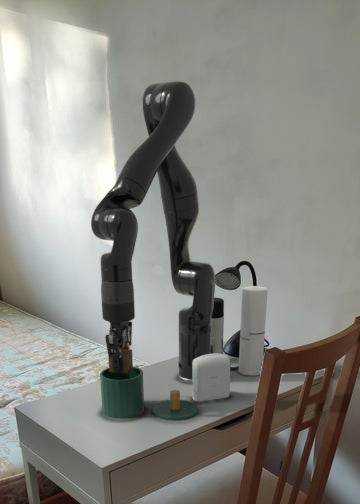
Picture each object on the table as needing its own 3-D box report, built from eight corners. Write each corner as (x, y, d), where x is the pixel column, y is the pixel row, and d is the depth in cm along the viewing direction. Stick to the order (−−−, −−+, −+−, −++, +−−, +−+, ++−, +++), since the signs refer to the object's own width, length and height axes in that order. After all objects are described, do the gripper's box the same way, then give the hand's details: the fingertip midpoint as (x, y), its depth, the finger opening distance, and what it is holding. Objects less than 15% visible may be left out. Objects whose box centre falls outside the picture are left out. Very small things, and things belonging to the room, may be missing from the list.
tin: (126, 400, 141) (124, 362, 136) (152, 412, 134) (151, 372, 130) (94, 411, 134) (91, 372, 130) (119, 424, 127) (117, 383, 123)
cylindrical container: (261, 376, 157) (266, 291, 147) (237, 374, 158) (241, 290, 148) (262, 368, 163) (268, 286, 153) (239, 366, 165) (243, 285, 155)
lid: (176, 400, 141) (176, 380, 138) (207, 412, 133) (207, 391, 131) (143, 412, 133) (142, 391, 131) (174, 426, 126) (174, 404, 124)
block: (115, 366, 132) (114, 348, 130) (132, 367, 131) (132, 349, 129) (109, 372, 128) (108, 354, 126) (127, 373, 127) (126, 355, 125)
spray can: (225, 364, 167) (227, 301, 159) (205, 366, 165) (206, 302, 157) (218, 357, 173) (219, 296, 165) (198, 359, 171) (199, 297, 163)
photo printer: (195, 404, 138) (195, 359, 133) (189, 398, 142) (190, 354, 137) (231, 399, 141) (233, 354, 136) (225, 393, 145) (226, 349, 140)
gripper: (124, 306, 115) (127, 380, 122) (141, 293, 128) (143, 360, 135) (91, 305, 117) (96, 377, 123) (111, 292, 130) (115, 358, 136)
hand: (121, 368), depth 129 cm, fingers closed on block, 4 cm apart
